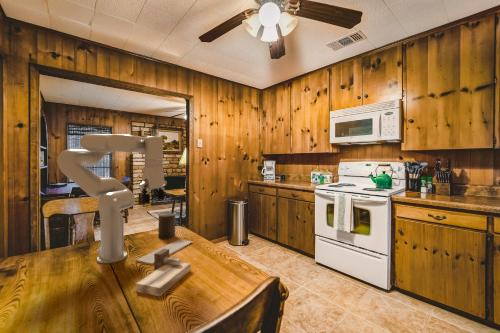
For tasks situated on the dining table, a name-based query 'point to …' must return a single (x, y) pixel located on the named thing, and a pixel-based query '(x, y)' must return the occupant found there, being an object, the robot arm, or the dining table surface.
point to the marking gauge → (164, 259)
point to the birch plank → (162, 279)
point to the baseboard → (172, 248)
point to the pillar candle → (166, 225)
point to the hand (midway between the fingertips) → (153, 201)
